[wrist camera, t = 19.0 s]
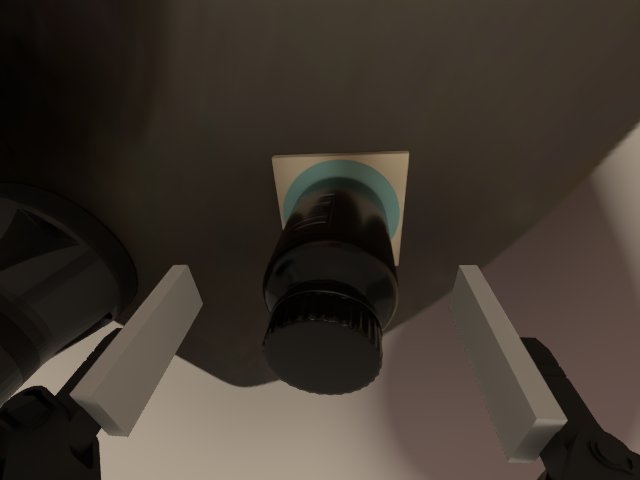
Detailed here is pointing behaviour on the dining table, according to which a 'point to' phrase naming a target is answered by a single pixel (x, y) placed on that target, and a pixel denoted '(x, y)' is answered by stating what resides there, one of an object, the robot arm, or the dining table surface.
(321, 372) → the supplement bottle
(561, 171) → the dining table surface
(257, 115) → the dining table surface
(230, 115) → the dining table surface
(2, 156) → the dining table surface
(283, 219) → the board
